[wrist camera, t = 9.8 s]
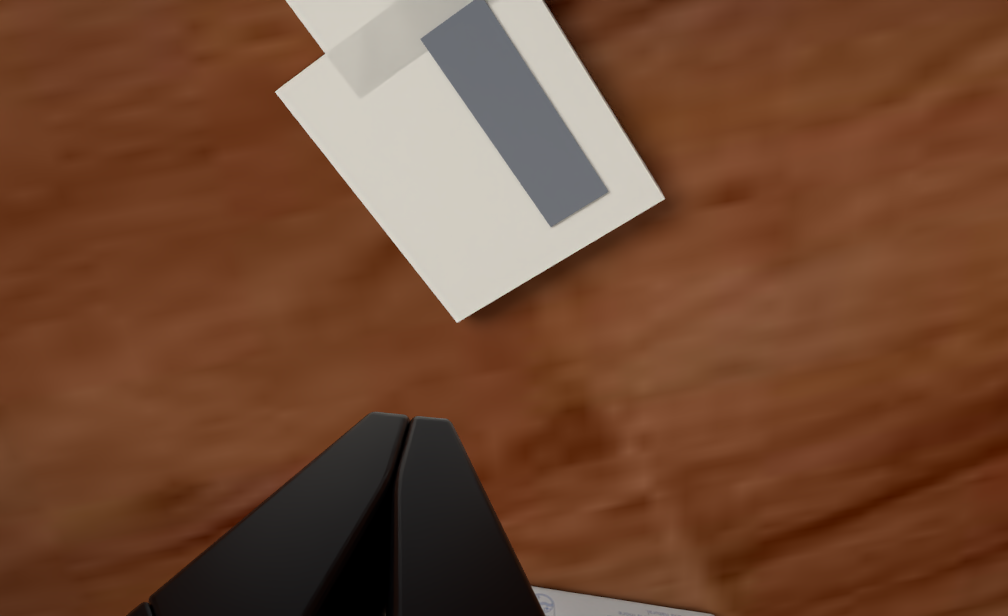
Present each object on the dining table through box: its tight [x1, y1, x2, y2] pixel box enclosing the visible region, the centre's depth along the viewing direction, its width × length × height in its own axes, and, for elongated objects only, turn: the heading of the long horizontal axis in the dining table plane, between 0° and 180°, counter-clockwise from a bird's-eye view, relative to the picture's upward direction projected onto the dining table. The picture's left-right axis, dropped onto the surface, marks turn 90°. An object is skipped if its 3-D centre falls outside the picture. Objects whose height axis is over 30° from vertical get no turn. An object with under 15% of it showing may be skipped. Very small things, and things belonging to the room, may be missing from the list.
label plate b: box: [275, 0, 665, 323], centre depth 19 cm, size 6×7×1 cm
